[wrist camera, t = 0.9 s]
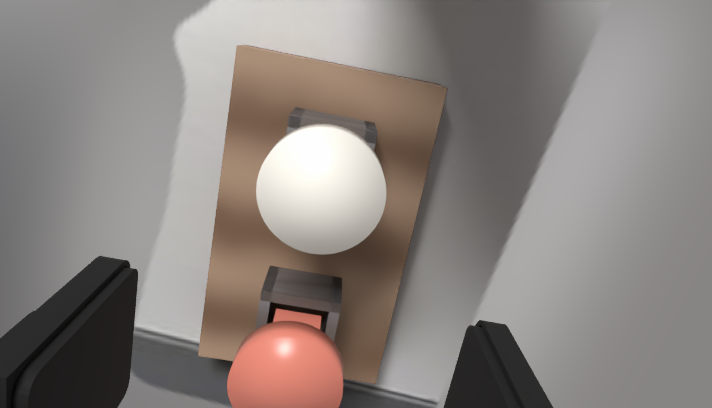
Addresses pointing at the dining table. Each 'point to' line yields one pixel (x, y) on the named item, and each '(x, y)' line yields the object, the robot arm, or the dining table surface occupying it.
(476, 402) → the robot arm
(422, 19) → the dining table surface
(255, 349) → the red button
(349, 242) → the cream button
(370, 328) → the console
